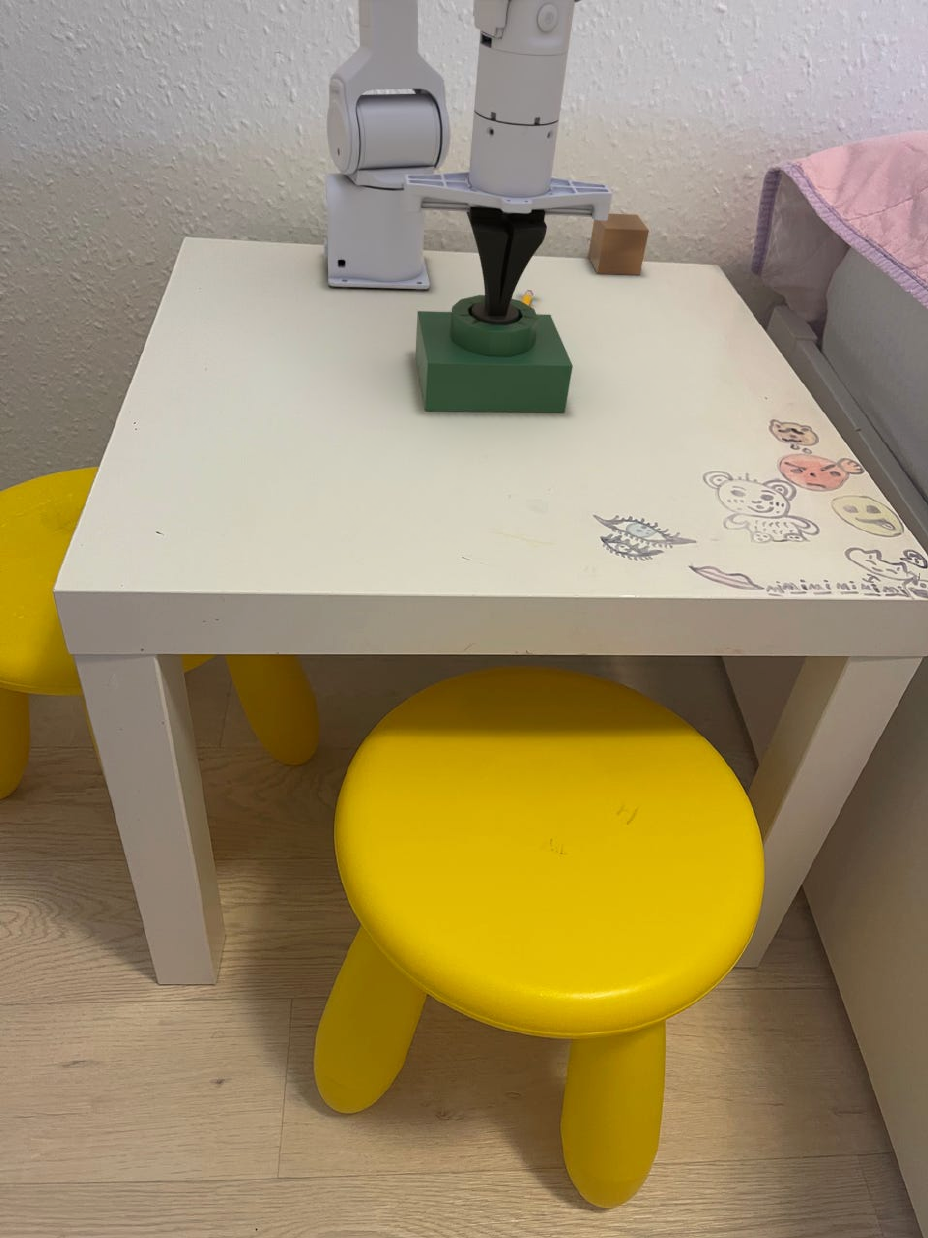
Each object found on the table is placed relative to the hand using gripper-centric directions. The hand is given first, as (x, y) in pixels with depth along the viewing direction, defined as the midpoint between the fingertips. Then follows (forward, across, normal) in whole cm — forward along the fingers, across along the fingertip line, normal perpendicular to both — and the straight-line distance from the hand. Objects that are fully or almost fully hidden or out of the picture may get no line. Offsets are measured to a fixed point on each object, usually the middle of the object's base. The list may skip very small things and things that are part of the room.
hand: (495, 310), depth 70 cm
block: (+6, +17, +26) cm, 32 cm away
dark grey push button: (+2, 0, 0) cm, 2 cm away
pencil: (+6, +5, +13) cm, 15 cm away
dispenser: (+6, 0, 0) cm, 6 cm away
